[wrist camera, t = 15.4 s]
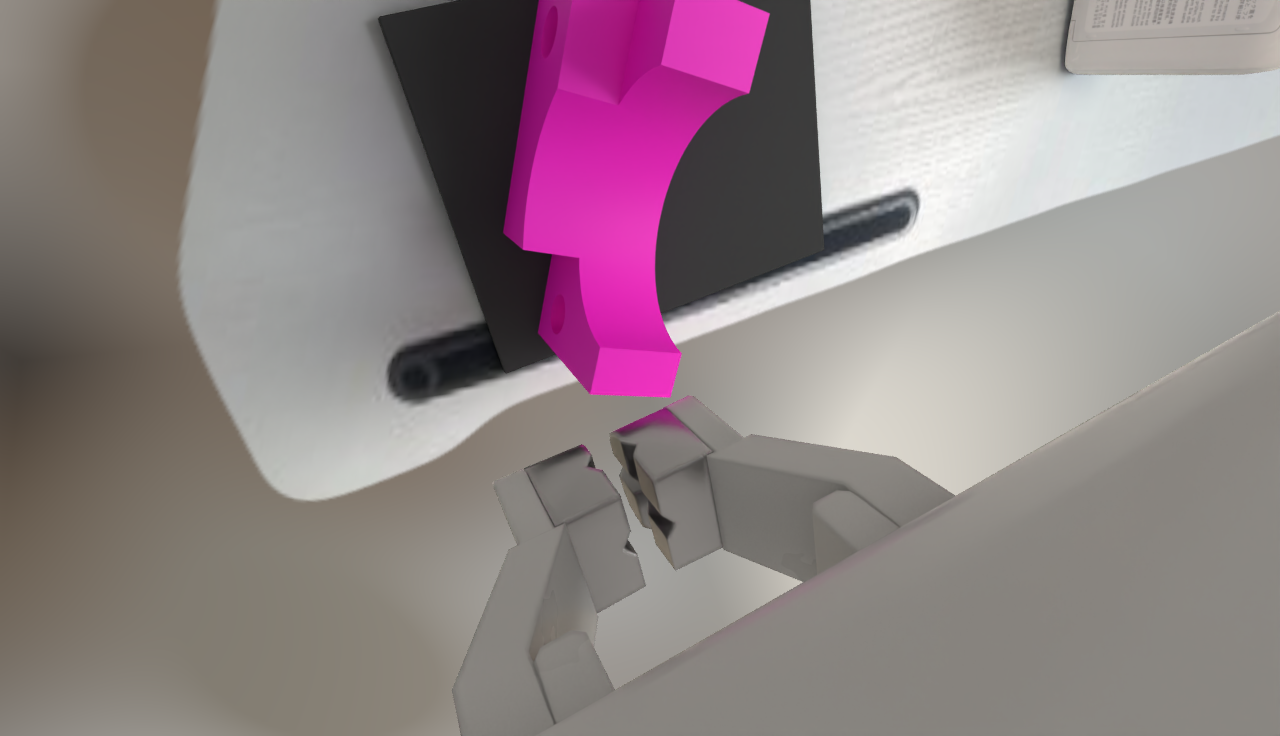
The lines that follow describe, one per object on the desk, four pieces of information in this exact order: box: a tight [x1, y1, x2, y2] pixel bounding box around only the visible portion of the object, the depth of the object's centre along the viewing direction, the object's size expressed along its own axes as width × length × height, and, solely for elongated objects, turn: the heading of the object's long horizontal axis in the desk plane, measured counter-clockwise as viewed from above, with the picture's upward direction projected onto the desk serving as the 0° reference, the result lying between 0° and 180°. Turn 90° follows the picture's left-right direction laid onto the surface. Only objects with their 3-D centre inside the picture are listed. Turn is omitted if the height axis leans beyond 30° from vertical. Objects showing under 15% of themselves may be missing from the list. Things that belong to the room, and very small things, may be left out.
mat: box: [378, 0, 824, 373], centre depth 30 cm, size 20×16×1 cm
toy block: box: [503, 0, 770, 397], centre depth 26 cm, size 15×6×8 cm, turn 167°
